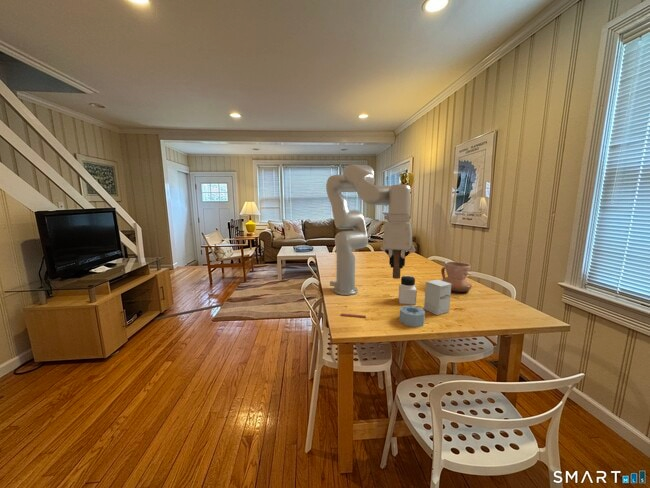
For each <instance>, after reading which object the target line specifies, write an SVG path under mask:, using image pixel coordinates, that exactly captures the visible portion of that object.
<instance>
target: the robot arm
mask: <svg viewBox="0 0 650 488" xmlns="http://www.w3.org/2000/svg"><path fill="white" fill-rule="evenodd" d="M375 182H376V181H375V171H374V169H373V167H371V166H370V165H367V164H366V165H365V164H353V163H352V164H349V165H347V166H346V167H345V168H344V170H343V174H333V175H330V176H329V177H328V179H327V180H326V185H325V186H326V187H325V188H326V189H325V190H326V194H327V198H328V200H329V202H330V205H331V211H332V215H333V222H334V225H335V227H336V228H337V229H339V230H343V231H339V232H338V233H336V235H335V236H334V245H335V250H336V251H335V252H336V253H335V255H336V281H333V280H332V281H331V280H330V282H329V286H330V287H333V290H332V291H333V292H334V293H335V294H336V295H337V294H338V295H341V296H352V295H356V294H357V293H358V291H359V290H358V288H357V287H356V285H355V284H356V282H355V281H356V257H355V255H354V252H353V251H352V250H358V249H364V248H366V247H367V246H368V242H369V235H368V234H369V233H368V230H367V225H366V220H365V216H364V215H363V213H362V212H361V211H359V210H355V209H354V210H351V209H350V208H349V204H348V200H347V198H346V197H345V195H343V194H342V193H356V194H357V196H358V198H359V199H361V200H362V201H363V202H365V204H367V205H369V206H388V213H387V215H384V216H383V218H384V220H387V222H385V223H384V224H385V225H384V228H383V229H384V230H383V236H382V237H383V238H382V243H381V246H380V250H381V251H382V252H385V253H386V255H387V257H388V258H389V261H388V263H389V266H390V268H392V269H393V250H401V258H400V270H401V269H403V267H405V264H406V257H408V256H409V255H410V254H413V253H415V252H416V248H415V245H414V243H413V227H412V223H411V222H410V211H411V187H410V185H409V184H392V185H380V184H379V185H376V184H375ZM351 229H352V230H351Z"/></svg>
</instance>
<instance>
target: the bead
mask: <svg viewBox="0 0 650 488" xmlns="http://www.w3.org/2000/svg"><path fill="white" fill-rule="evenodd" d="M425 314H426V310H425V309H424V308H422V307H420V306H416V305H412V304H407V305H403V306H401V307H400V309H399V322H400V323H401V324H403V325H404V326H407V327H413V328H418V327H423V326H424V324H425V320H426V319H425V316H426V315H425Z"/></svg>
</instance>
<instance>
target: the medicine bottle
mask: <svg viewBox="0 0 650 488" xmlns="http://www.w3.org/2000/svg"><path fill="white" fill-rule="evenodd" d="M415 284H416V278H415V277H414V276H411V275H403V276H402V277H401V276H400V284H398V301H399V304H401V305H402V304H403V305H411V306H416V305H417V292H418V291H417V288H416V286H415Z"/></svg>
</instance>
